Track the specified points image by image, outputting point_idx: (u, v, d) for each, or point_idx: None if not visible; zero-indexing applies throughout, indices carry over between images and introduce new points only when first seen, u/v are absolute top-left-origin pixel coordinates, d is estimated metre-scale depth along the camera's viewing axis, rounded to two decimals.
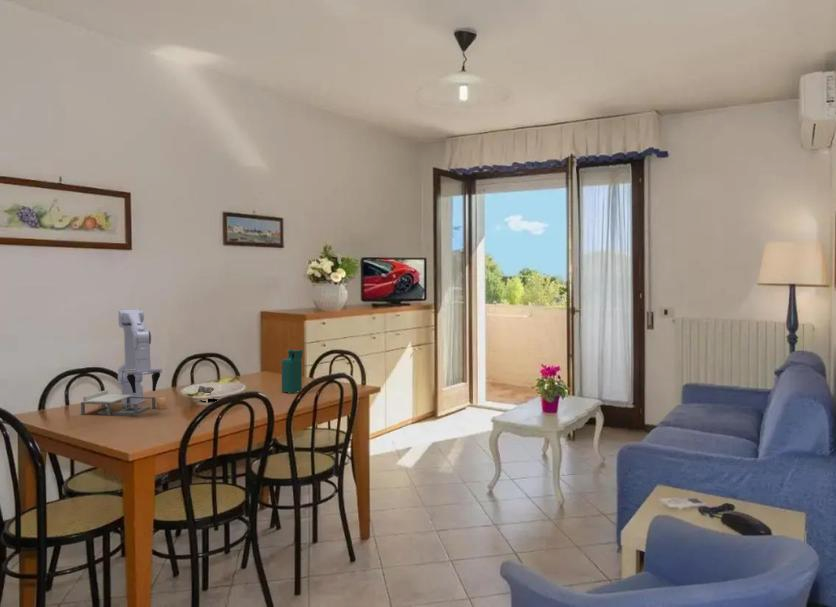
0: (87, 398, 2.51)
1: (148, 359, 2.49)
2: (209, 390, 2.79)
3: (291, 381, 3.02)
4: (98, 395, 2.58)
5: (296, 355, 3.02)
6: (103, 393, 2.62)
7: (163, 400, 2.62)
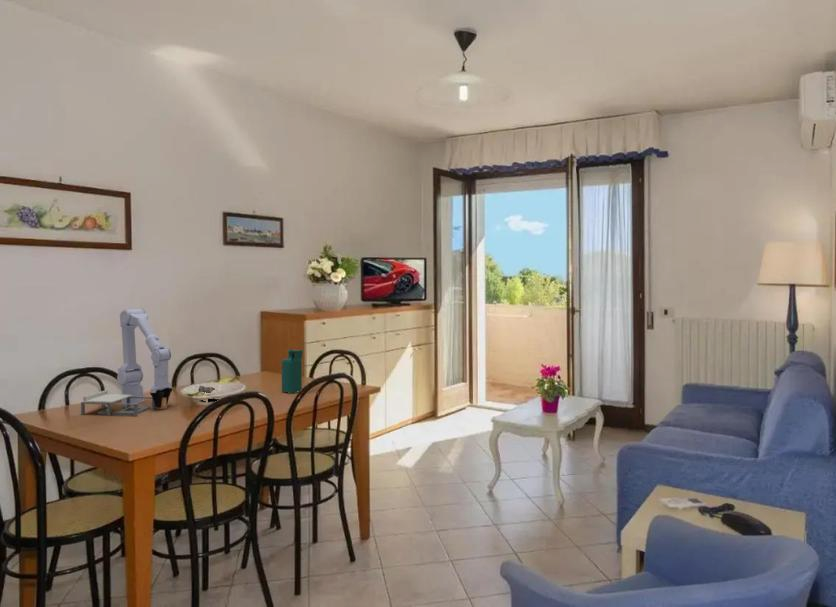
0: (87, 398, 2.51)
1: None
2: (209, 390, 2.80)
3: (291, 381, 3.02)
4: (98, 395, 2.58)
5: (296, 355, 3.02)
6: (103, 393, 2.62)
7: (163, 400, 2.62)
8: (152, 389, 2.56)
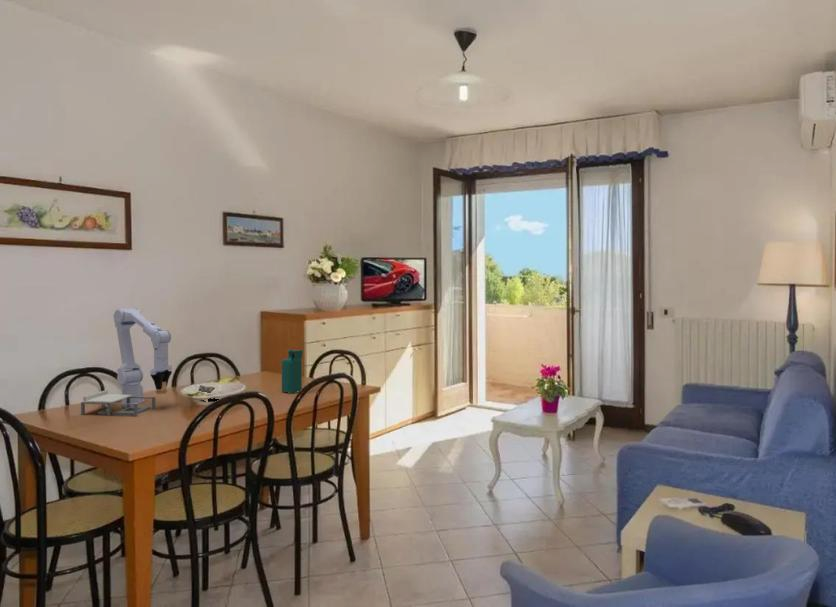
0: (87, 398, 2.51)
1: None
2: (209, 389, 2.80)
3: (291, 381, 3.02)
4: (98, 395, 2.58)
5: (296, 355, 3.02)
6: (103, 393, 2.62)
7: (163, 384, 2.62)
8: (152, 371, 2.56)
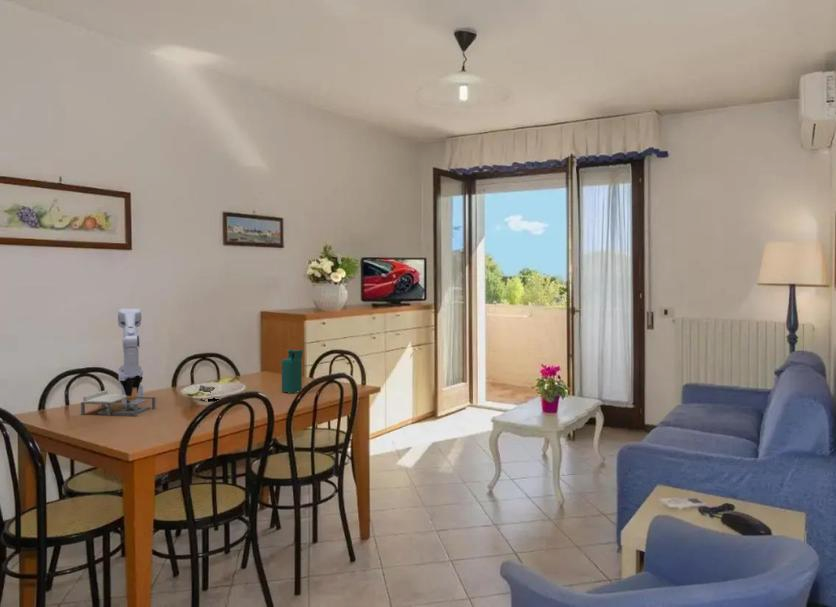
0: (87, 398, 2.51)
1: (138, 363, 2.56)
2: (209, 389, 2.81)
3: (291, 381, 3.02)
4: (98, 395, 2.58)
5: (296, 355, 3.02)
6: (103, 393, 2.62)
7: (133, 390, 2.54)
8: (121, 377, 2.48)
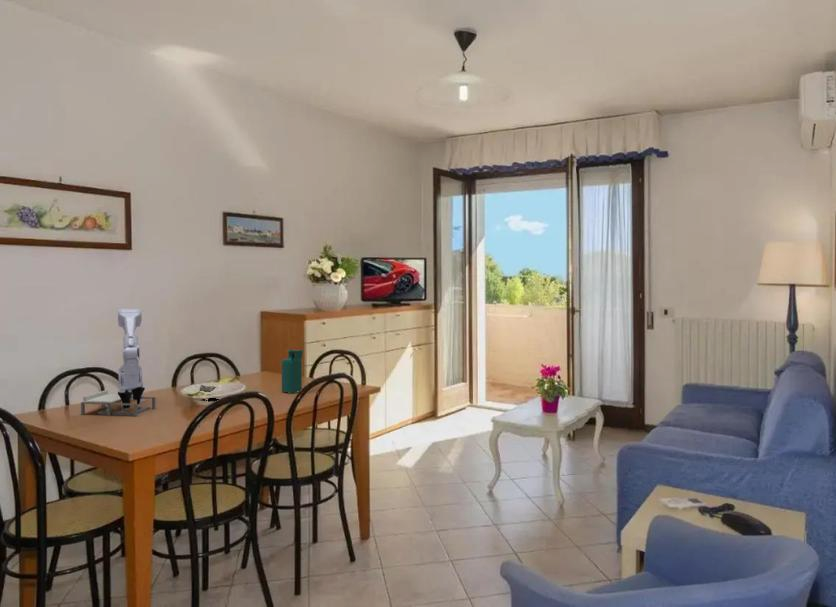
0: (87, 398, 2.51)
1: (138, 374, 2.57)
2: (209, 389, 2.81)
3: (291, 381, 3.02)
4: (98, 395, 2.58)
5: (296, 355, 3.02)
6: (103, 393, 2.62)
7: (133, 402, 2.54)
8: (121, 389, 2.48)
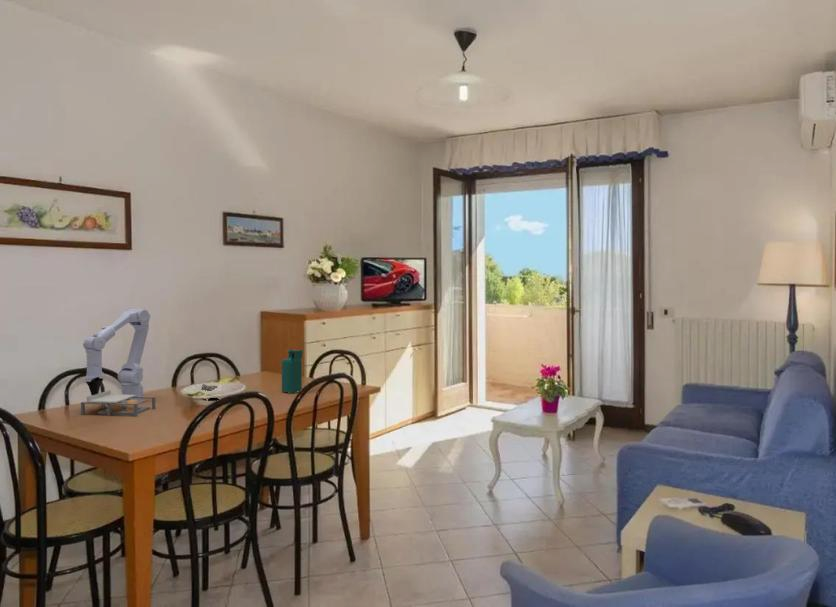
0: (90, 398, 2.51)
1: None
2: (210, 389, 2.83)
3: (291, 381, 3.02)
4: (101, 395, 2.58)
5: (296, 355, 3.02)
6: (106, 393, 2.61)
7: (133, 402, 2.54)
8: (87, 378, 2.50)
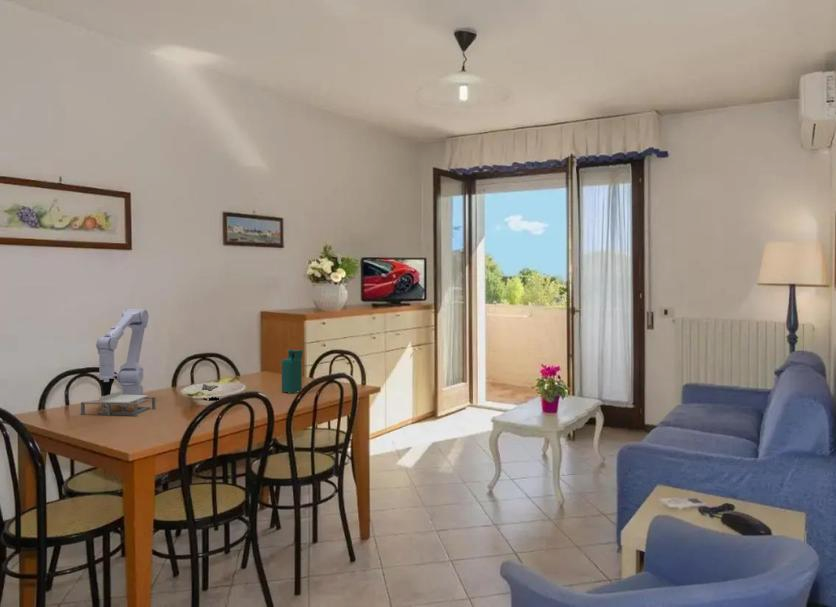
0: (103, 399, 2.50)
1: None
2: (210, 388, 2.83)
3: (291, 381, 3.02)
4: (114, 395, 2.57)
5: (296, 355, 3.02)
6: (118, 393, 2.61)
7: (133, 402, 2.54)
8: (106, 378, 2.50)
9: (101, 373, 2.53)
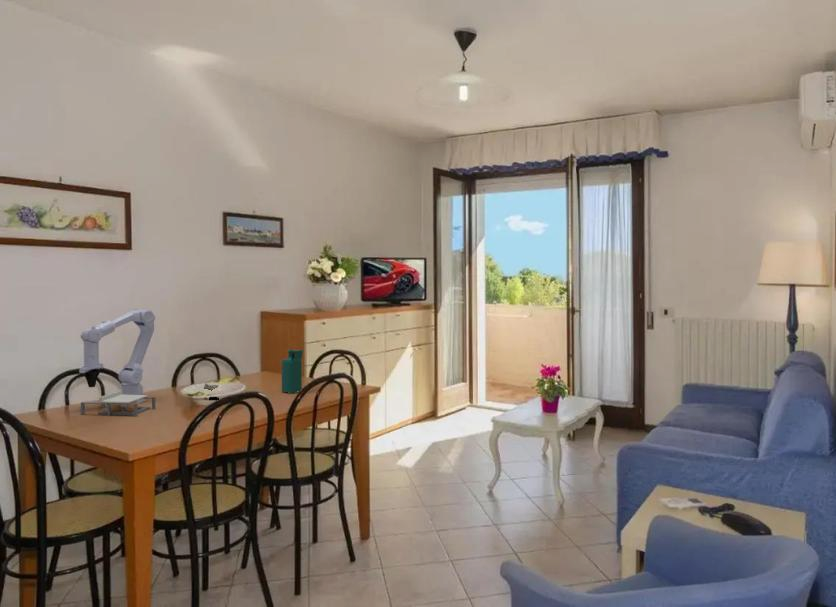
0: (103, 398, 2.50)
1: (98, 356, 2.60)
2: (211, 388, 2.84)
3: (291, 381, 3.02)
4: (113, 395, 2.57)
5: (296, 355, 3.02)
6: (118, 393, 2.61)
7: (133, 402, 2.54)
8: (81, 369, 2.52)
9: (84, 364, 2.57)
